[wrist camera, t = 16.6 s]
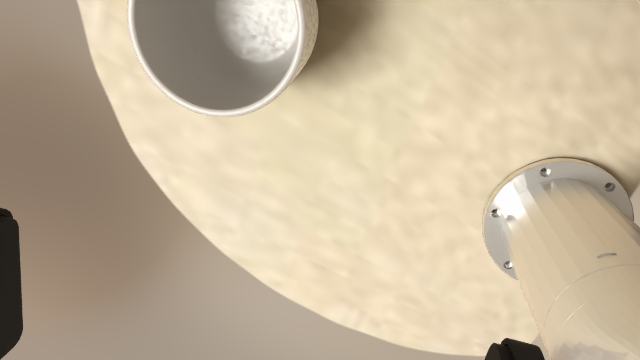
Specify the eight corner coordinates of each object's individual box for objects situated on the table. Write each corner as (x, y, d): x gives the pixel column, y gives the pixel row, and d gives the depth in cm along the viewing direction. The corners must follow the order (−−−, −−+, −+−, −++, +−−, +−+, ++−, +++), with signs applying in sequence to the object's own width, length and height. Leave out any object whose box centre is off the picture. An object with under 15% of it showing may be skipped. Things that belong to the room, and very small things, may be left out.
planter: (280, 115, 46) (246, 151, 36) (166, 38, 45) (98, 51, 35) (356, -4, 41) (342, -2, 31) (231, -94, 40) (174, -121, 30)
